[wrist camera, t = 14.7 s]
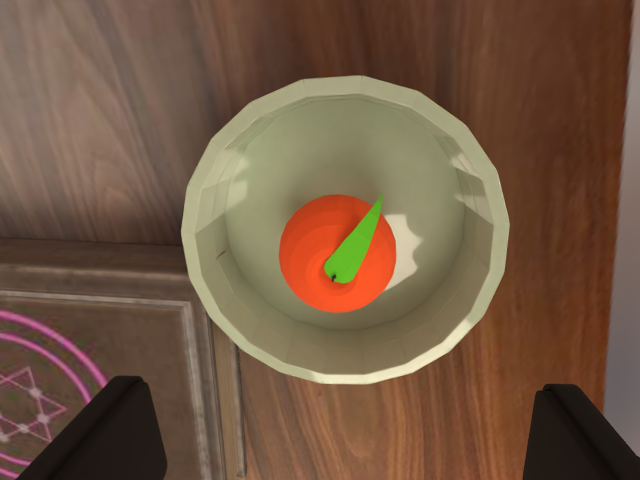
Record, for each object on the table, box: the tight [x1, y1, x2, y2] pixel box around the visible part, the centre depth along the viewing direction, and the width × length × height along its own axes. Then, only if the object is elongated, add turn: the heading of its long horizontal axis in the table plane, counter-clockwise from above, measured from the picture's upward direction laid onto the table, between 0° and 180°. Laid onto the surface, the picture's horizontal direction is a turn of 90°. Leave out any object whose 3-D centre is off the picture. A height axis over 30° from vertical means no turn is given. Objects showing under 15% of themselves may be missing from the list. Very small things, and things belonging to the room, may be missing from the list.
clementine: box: [278, 192, 397, 313], centre depth 21 cm, size 8×7×7 cm
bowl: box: [181, 75, 510, 384], centre depth 22 cm, size 18×18×6 cm
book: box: [0, 238, 247, 480], centre depth 28 cm, size 30×22×5 cm
